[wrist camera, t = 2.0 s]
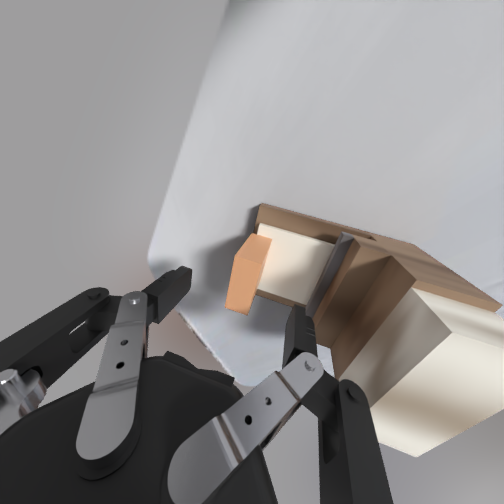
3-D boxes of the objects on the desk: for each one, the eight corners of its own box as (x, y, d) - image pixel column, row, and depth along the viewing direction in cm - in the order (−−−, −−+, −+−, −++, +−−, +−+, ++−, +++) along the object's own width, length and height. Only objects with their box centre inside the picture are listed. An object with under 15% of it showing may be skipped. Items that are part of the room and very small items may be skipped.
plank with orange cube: (255, 221, 17) (237, 242, 12) (358, 251, 16) (383, 287, 11) (241, 280, 20) (223, 315, 15) (326, 308, 19) (335, 356, 14)
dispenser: (262, 203, 18) (214, 245, 8) (414, 244, 16) (587, 362, 6) (243, 283, 22) (198, 372, 13) (359, 322, 21) (411, 460, 11)
